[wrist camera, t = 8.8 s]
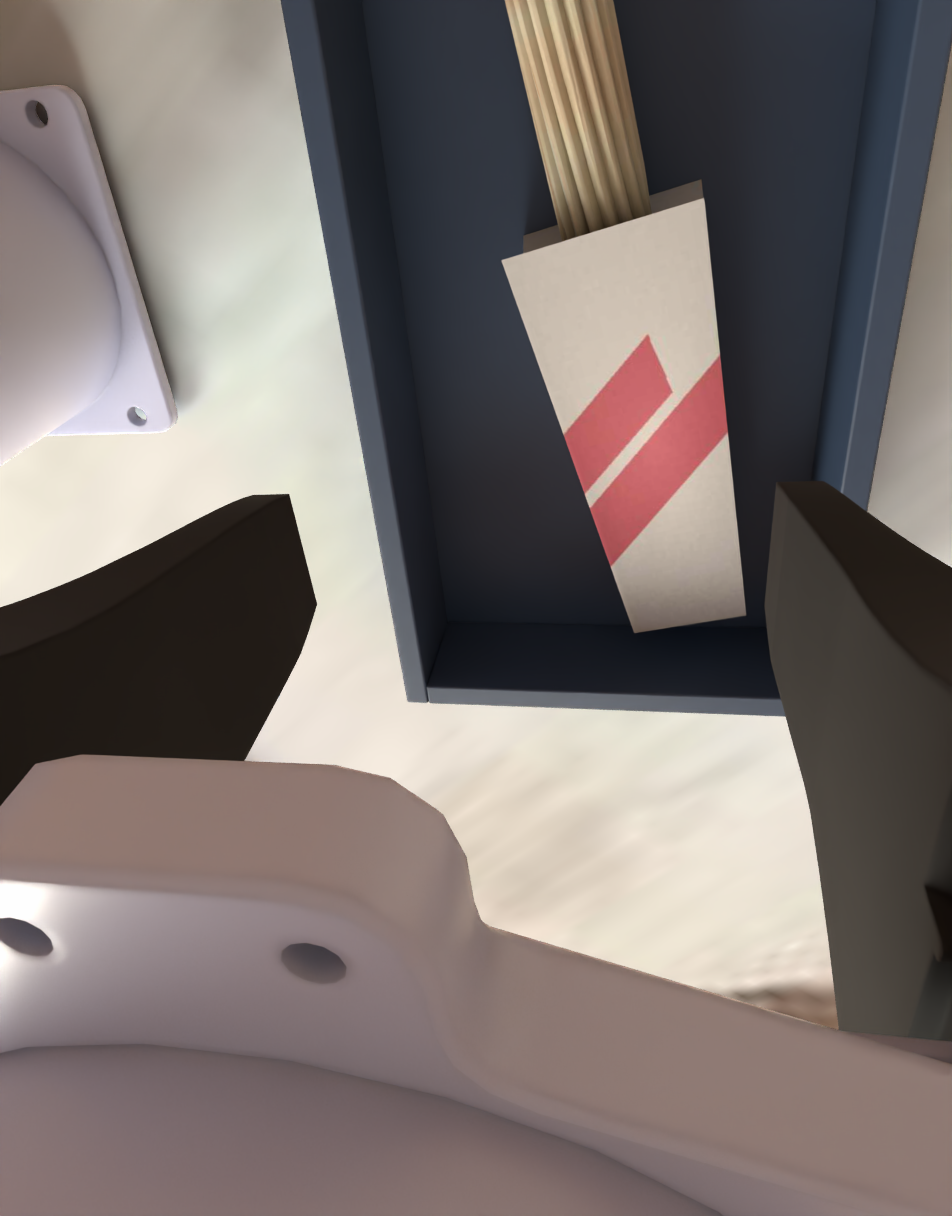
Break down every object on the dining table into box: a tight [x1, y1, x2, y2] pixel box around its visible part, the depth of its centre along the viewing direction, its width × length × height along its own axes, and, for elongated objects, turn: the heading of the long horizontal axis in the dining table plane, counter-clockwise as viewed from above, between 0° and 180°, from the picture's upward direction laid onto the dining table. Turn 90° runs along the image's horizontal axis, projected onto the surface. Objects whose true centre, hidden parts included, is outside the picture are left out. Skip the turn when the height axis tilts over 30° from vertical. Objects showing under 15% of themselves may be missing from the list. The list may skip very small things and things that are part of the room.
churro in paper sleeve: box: [501, 0, 746, 633], centre depth 17 cm, size 4×3×20 cm
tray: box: [281, 0, 952, 716], centre depth 17 cm, size 11×23×4 cm, turn 6°
